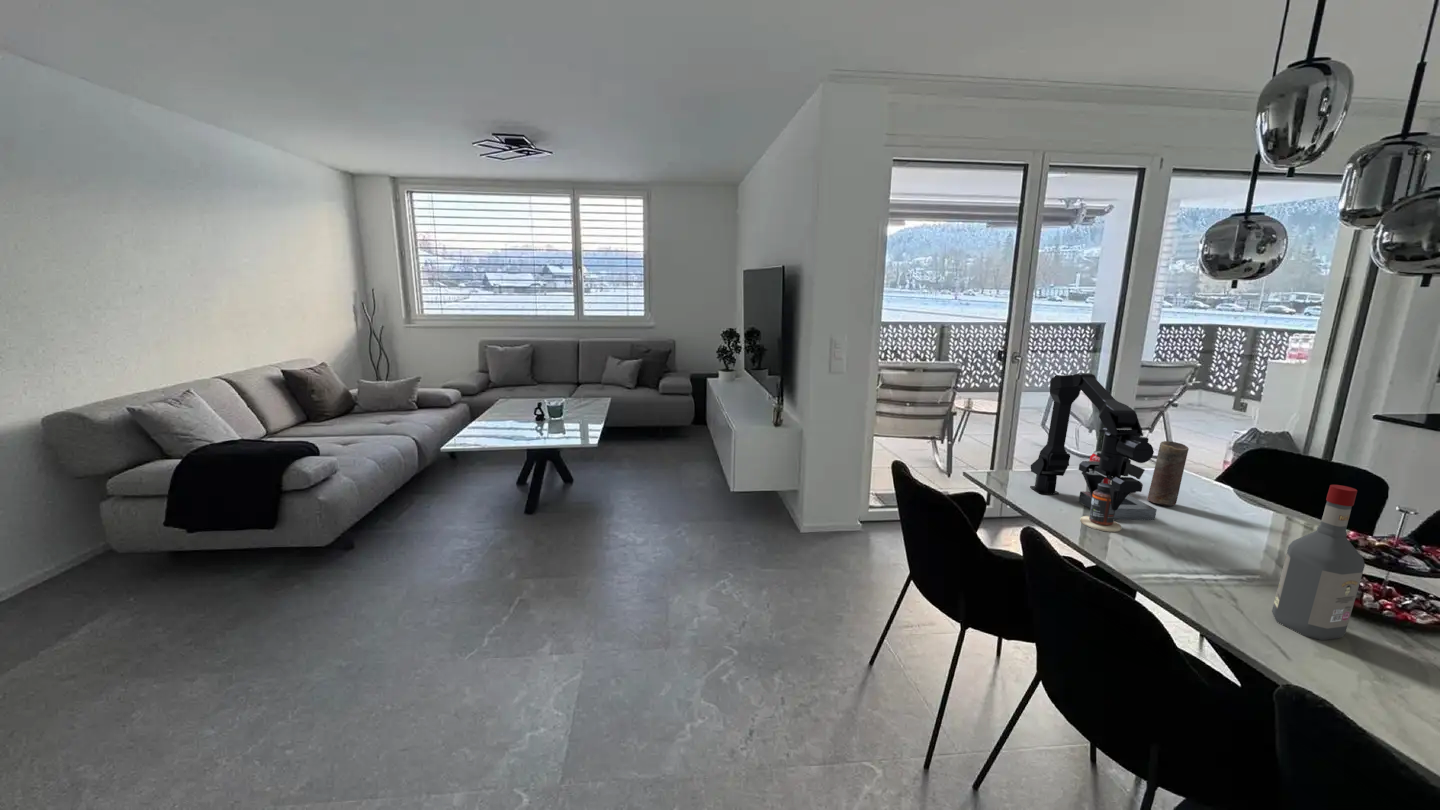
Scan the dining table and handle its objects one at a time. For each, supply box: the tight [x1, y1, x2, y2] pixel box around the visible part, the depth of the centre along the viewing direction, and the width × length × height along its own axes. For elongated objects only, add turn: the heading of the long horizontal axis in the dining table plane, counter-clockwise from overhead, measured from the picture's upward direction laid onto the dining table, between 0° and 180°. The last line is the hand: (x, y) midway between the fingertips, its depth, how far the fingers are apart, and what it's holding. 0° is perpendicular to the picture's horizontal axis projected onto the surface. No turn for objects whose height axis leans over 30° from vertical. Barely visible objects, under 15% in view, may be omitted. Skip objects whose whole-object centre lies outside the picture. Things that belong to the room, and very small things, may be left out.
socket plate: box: [1078, 491, 1157, 521], centre depth 176 cm, size 14×14×4 cm
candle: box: [1146, 440, 1189, 507], centre depth 181 cm, size 8×7×20 cm
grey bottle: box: [1271, 484, 1366, 641], centre depth 114 cm, size 9×9×30 cm
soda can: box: [1088, 450, 1112, 484], centre depth 197 cm, size 7×7×12 cm
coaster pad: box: [1079, 515, 1123, 533], centre depth 165 cm, size 10×10×1 cm
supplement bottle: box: [1089, 483, 1115, 526], centre depth 164 cm, size 6×6×11 cm
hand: (1104, 504), depth 164 cm, fingers open, 8 cm apart
